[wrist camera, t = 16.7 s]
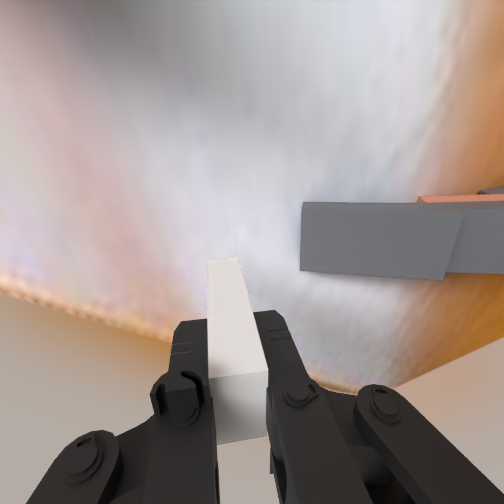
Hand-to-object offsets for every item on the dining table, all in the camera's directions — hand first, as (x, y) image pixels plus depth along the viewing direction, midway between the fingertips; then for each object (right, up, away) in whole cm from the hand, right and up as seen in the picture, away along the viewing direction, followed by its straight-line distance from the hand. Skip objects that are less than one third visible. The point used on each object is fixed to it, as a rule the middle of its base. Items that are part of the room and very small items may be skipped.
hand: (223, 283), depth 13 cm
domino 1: (+5, +3, +8) cm, 10 cm away
